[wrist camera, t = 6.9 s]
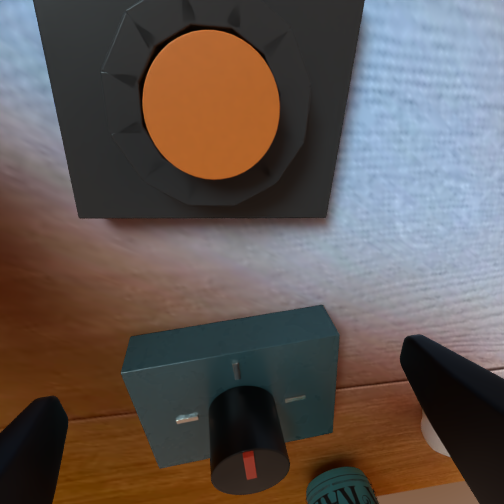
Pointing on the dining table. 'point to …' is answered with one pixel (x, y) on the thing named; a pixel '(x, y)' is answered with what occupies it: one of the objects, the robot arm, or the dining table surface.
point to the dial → (246, 441)
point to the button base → (131, 106)
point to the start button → (211, 104)
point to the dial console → (232, 377)
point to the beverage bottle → (341, 488)
